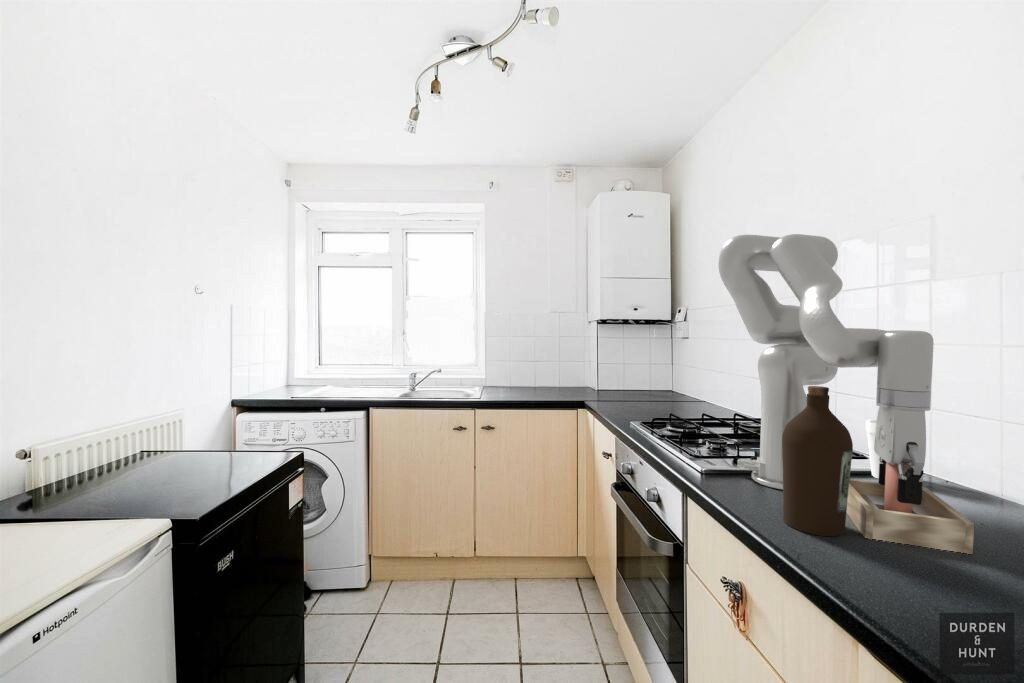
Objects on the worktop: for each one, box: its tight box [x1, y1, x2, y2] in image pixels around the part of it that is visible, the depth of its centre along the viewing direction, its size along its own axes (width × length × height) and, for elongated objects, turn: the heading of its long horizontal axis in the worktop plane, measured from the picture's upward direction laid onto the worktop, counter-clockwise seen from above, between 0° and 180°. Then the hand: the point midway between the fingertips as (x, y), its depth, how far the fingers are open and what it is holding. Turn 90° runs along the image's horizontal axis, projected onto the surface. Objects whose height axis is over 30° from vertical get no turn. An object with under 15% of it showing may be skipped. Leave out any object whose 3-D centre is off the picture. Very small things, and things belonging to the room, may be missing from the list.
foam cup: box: [865, 418, 883, 480], centre depth 113 cm, size 10×9×13 cm
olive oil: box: [782, 385, 854, 537], centre depth 85 cm, size 11×11×25 cm
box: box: [846, 478, 975, 555], centre depth 86 cm, size 14×18×5 cm
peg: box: [884, 461, 913, 514], centre depth 86 cm, size 4×4×12 cm
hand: (898, 493), depth 86 cm, fingers open, 9 cm apart
